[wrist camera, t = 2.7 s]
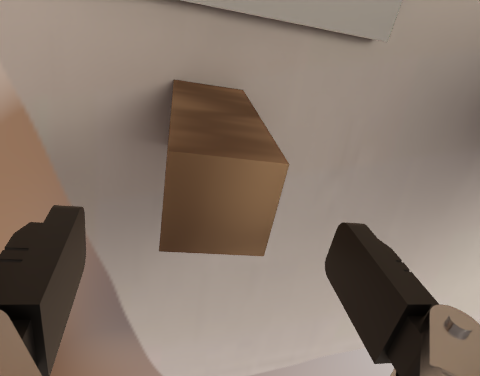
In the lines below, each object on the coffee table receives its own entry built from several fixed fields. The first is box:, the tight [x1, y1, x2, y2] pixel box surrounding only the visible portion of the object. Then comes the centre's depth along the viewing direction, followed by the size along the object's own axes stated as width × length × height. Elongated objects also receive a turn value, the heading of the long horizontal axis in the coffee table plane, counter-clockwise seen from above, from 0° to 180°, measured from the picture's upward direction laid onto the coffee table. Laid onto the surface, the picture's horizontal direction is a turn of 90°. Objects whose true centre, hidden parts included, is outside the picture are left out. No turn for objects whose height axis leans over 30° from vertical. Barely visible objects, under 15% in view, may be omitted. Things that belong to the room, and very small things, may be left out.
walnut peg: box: [159, 80, 289, 256], centre depth 16 cm, size 4×4×10 cm
